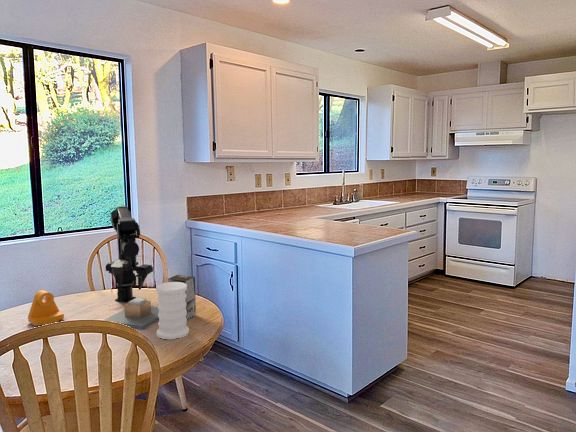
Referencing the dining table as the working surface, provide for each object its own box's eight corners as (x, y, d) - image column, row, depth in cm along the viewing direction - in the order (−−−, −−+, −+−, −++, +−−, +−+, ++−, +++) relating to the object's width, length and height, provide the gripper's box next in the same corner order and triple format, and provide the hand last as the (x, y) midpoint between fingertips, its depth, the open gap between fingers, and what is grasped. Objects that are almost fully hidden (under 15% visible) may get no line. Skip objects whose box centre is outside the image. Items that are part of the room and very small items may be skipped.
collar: (124, 316, 177) (124, 304, 176) (136, 310, 184) (135, 298, 183) (140, 318, 175) (139, 306, 174) (151, 312, 182) (150, 300, 181)
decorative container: (163, 342, 156) (161, 292, 153) (152, 332, 165) (150, 284, 162) (194, 335, 162) (193, 287, 160) (181, 325, 172) (180, 279, 169)
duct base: (134, 306, 192) (134, 290, 191) (171, 311, 186) (171, 294, 185) (102, 323, 173) (101, 305, 172) (142, 329, 167) (141, 310, 166)
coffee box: (196, 315, 182) (195, 276, 180) (186, 320, 177) (185, 280, 174) (178, 311, 186) (177, 274, 184) (168, 316, 180) (167, 278, 178)
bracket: (35, 328, 168) (33, 297, 166) (28, 323, 173) (26, 293, 171) (65, 320, 176) (63, 290, 174) (57, 315, 181) (55, 287, 179)
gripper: (95, 253, 174) (97, 292, 176) (136, 257, 169) (137, 297, 171) (113, 247, 185) (115, 283, 187) (153, 251, 179) (154, 288, 182)
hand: (130, 288), depth 181 cm, fingers open, 9 cm apart
